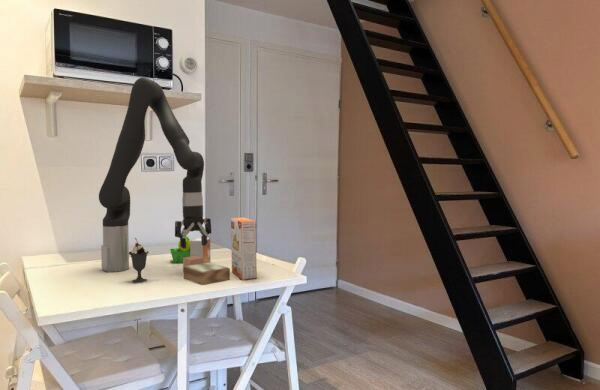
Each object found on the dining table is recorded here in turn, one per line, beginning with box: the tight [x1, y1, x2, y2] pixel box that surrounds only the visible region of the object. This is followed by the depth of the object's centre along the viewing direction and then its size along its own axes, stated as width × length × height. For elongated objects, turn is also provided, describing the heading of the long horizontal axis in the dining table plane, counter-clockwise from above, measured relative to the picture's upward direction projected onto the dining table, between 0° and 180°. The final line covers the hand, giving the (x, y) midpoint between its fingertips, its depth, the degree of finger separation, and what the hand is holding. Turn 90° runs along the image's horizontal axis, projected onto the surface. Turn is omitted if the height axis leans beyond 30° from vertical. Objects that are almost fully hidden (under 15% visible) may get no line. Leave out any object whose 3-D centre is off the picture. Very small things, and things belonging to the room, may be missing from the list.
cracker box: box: [230, 216, 258, 281], centre depth 162 cm, size 14×6×21 cm, turn 23°
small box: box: [190, 237, 211, 263], centre depth 182 cm, size 8×6×10 cm
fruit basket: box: [169, 235, 191, 264], centre depth 188 cm, size 11×9×11 cm
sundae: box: [129, 237, 150, 284], centre depth 154 cm, size 7×7×15 cm
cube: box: [182, 256, 203, 273], centre depth 168 cm, size 6×6×6 cm
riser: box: [183, 261, 231, 286], centre depth 158 cm, size 11×13×4 cm
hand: (193, 246), depth 168 cm, fingers open, 8 cm apart
